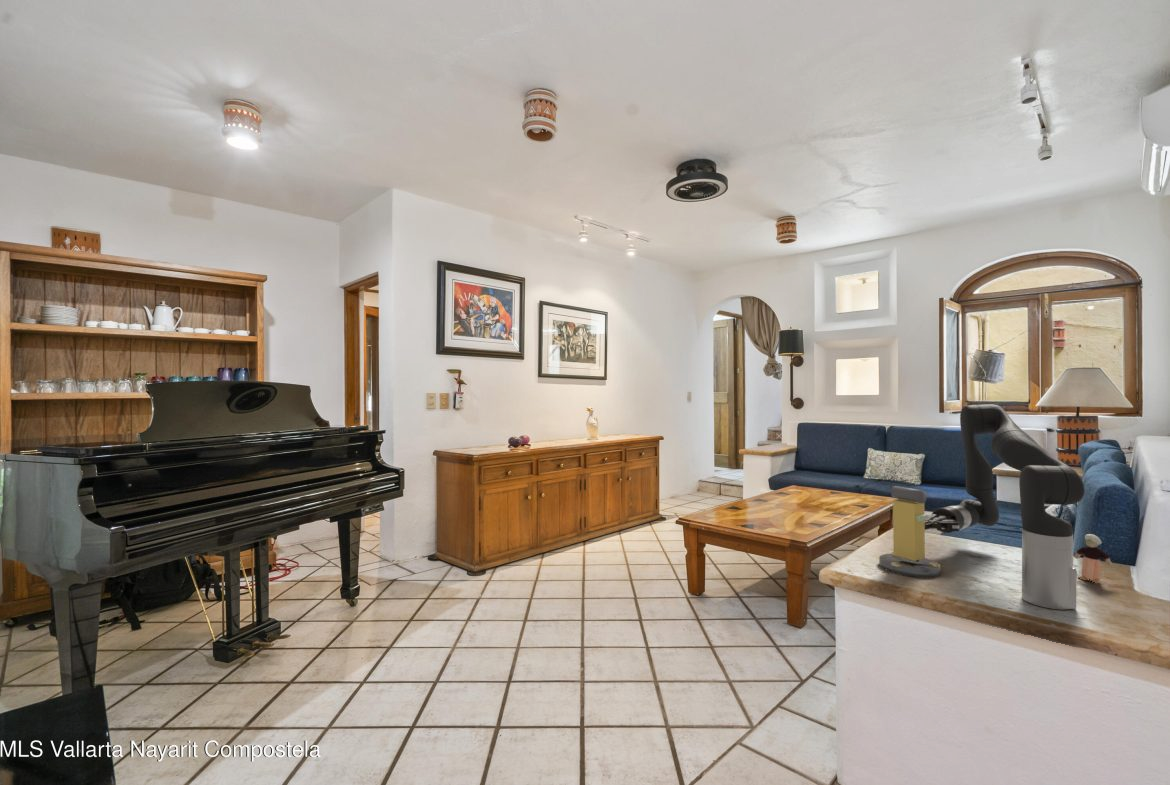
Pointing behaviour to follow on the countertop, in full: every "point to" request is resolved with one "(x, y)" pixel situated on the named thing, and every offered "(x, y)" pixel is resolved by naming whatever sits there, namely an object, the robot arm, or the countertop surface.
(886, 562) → the levelling base
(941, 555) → the countertop surface
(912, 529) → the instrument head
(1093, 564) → the grandmother figurine
